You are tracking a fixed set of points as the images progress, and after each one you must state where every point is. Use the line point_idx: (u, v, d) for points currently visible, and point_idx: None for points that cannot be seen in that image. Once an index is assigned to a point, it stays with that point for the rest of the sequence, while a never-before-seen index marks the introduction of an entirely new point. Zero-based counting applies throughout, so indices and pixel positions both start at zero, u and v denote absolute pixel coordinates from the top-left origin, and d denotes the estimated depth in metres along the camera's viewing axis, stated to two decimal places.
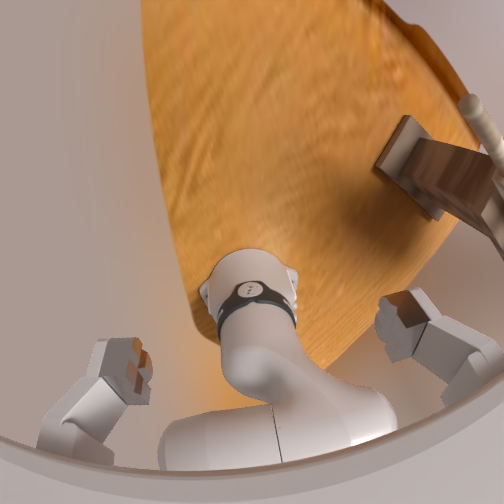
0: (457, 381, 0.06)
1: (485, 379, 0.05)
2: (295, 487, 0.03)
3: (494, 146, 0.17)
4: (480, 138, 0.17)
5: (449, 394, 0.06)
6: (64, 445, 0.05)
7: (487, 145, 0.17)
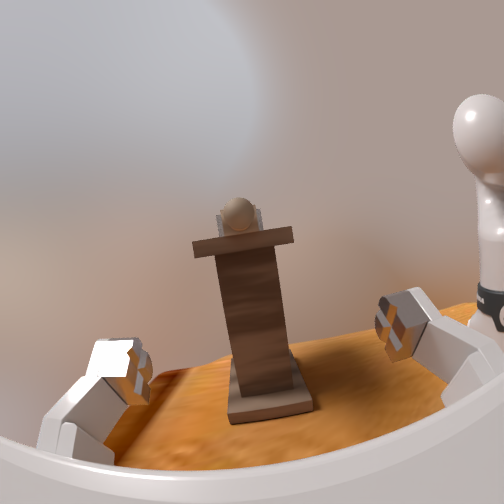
0: (457, 381, 0.06)
1: (485, 379, 0.05)
2: (295, 487, 0.03)
3: None
4: None
5: (449, 394, 0.06)
6: (64, 445, 0.05)
7: None
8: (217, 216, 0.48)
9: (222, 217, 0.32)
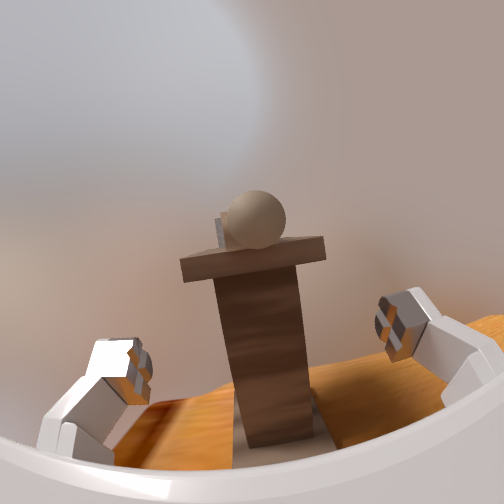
0: (457, 381, 0.06)
1: (485, 379, 0.05)
2: (295, 487, 0.03)
3: None
4: None
5: (449, 394, 0.06)
6: (64, 445, 0.05)
7: None
8: (216, 220, 0.38)
9: (223, 223, 0.21)
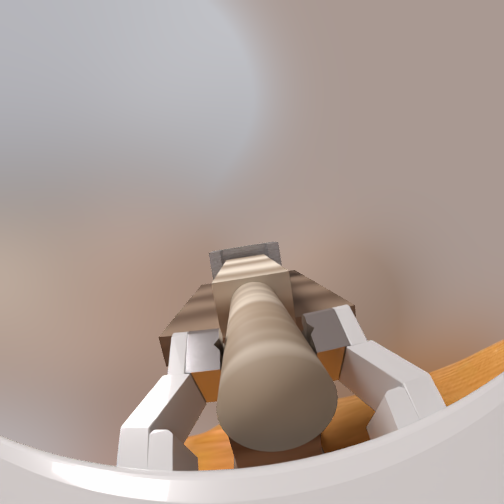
0: (377, 416, 0.06)
1: (403, 422, 0.05)
2: (295, 487, 0.03)
3: (281, 308, 0.10)
4: None
5: (372, 427, 0.06)
6: (158, 457, 0.05)
7: None
8: (211, 254, 0.31)
9: (217, 299, 0.14)
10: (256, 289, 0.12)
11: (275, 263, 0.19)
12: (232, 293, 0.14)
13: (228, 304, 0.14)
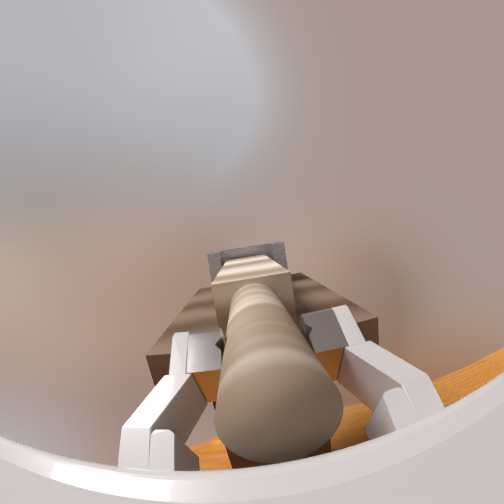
0: (375, 417, 0.06)
1: (400, 423, 0.05)
2: (295, 487, 0.03)
3: (283, 311, 0.09)
4: None
5: (370, 428, 0.06)
6: (160, 457, 0.05)
7: None
8: (209, 256, 0.28)
9: (216, 301, 0.14)
10: (257, 291, 0.12)
11: (276, 263, 0.19)
12: (232, 295, 0.14)
13: (228, 306, 0.14)
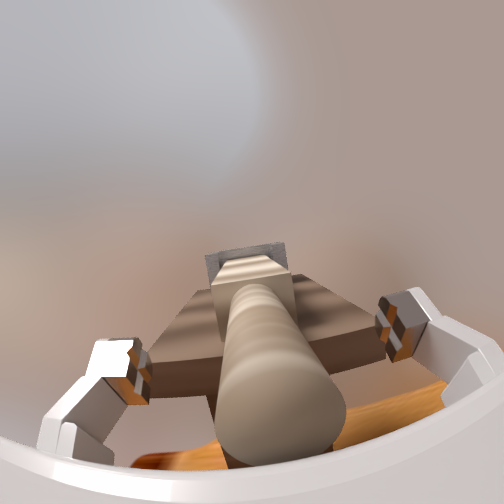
0: (457, 381, 0.06)
1: (485, 379, 0.05)
2: (295, 487, 0.03)
3: (284, 312, 0.09)
4: None
5: (449, 394, 0.06)
6: (64, 445, 0.05)
7: None
8: (207, 257, 0.27)
9: (216, 301, 0.14)
10: (257, 292, 0.12)
11: (276, 264, 0.19)
12: (232, 295, 0.14)
13: (228, 307, 0.14)
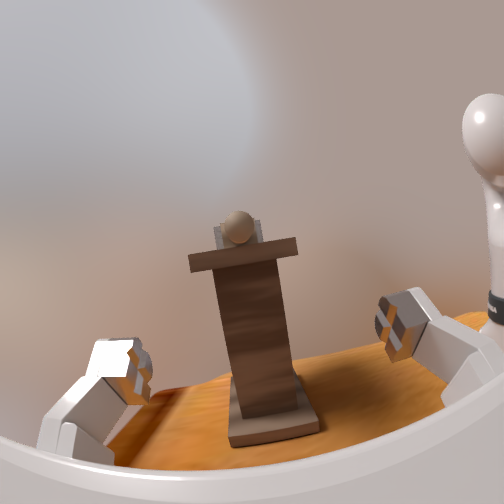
0: (457, 381, 0.06)
1: (485, 379, 0.05)
2: (295, 487, 0.03)
3: None
4: None
5: (449, 394, 0.06)
6: (64, 445, 0.05)
7: None
8: (214, 228, 0.46)
9: (222, 230, 0.33)
10: None
11: None
12: None
13: None
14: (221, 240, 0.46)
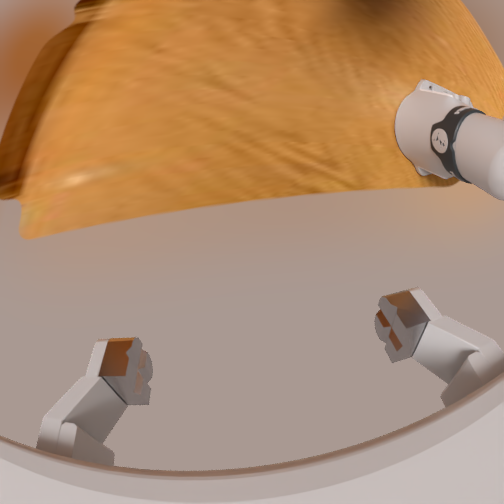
0: (457, 381, 0.06)
1: (485, 379, 0.05)
2: (295, 487, 0.03)
3: None
4: None
5: (449, 394, 0.06)
6: (64, 445, 0.05)
7: None
8: None
9: None
10: None
11: None
12: None
13: None
14: None
